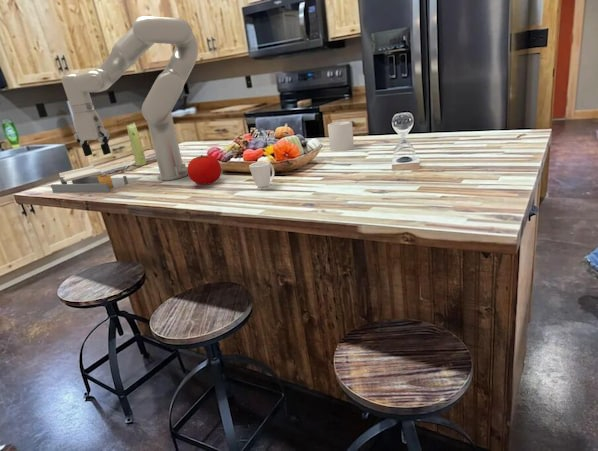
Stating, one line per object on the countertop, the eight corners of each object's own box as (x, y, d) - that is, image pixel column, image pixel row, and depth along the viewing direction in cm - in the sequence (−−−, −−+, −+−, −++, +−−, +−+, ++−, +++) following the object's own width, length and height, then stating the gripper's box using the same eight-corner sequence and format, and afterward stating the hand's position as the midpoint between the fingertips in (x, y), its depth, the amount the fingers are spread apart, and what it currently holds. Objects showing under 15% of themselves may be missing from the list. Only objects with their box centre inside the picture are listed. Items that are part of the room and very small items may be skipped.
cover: (97, 177, 187) (93, 165, 185) (103, 180, 179) (99, 168, 177) (60, 186, 179) (56, 174, 177) (65, 190, 171) (61, 177, 169)
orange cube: (116, 185, 168) (112, 174, 166) (107, 189, 164) (103, 177, 162) (107, 186, 169) (103, 174, 168) (98, 189, 166) (94, 177, 164)
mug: (325, 147, 187) (322, 123, 183) (346, 143, 189) (344, 119, 185) (334, 152, 175) (331, 126, 171) (357, 148, 177) (355, 122, 173)
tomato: (228, 177, 158) (222, 150, 154) (213, 188, 147) (207, 158, 143) (201, 179, 161) (195, 152, 157) (185, 189, 150) (178, 160, 147)
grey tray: (143, 177, 176) (140, 169, 175) (108, 193, 160) (105, 184, 159) (90, 179, 188) (88, 171, 187) (53, 193, 171) (50, 184, 170)
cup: (248, 190, 139) (244, 166, 136) (267, 181, 146) (263, 158, 144) (265, 191, 135) (261, 167, 132) (283, 182, 143) (279, 159, 140)
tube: (148, 164, 203) (137, 123, 196) (137, 166, 200) (126, 125, 193) (145, 162, 207) (134, 122, 200) (135, 165, 205) (123, 124, 198)
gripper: (108, 105, 155) (122, 151, 162) (74, 109, 162) (89, 153, 168) (92, 108, 149) (107, 156, 155) (58, 113, 156) (74, 158, 162)
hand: (98, 154), depth 162 cm, fingers open, 9 cm apart
